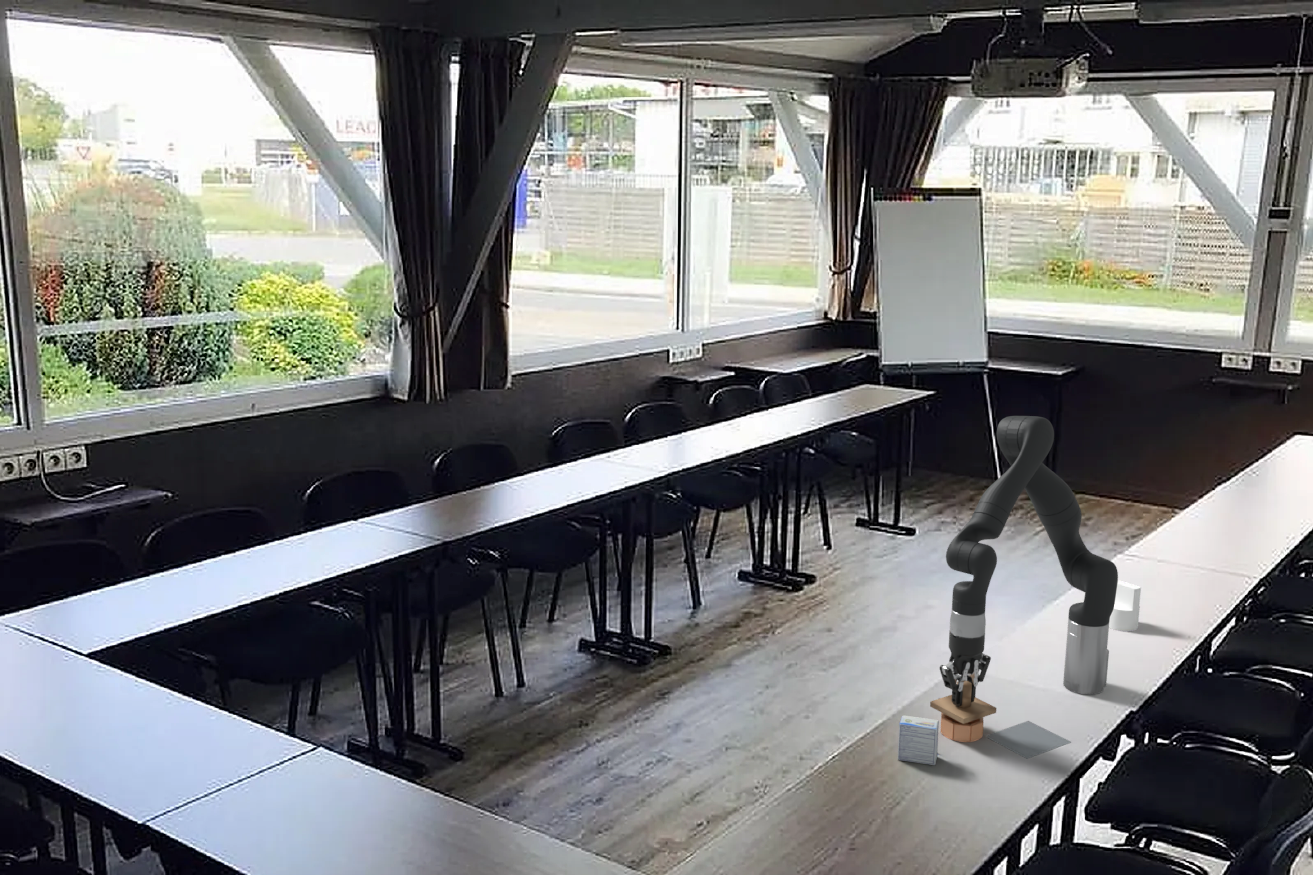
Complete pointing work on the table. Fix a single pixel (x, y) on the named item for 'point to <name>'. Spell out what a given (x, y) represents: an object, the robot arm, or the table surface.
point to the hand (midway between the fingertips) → (963, 702)
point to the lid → (964, 706)
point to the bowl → (961, 729)
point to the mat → (1028, 739)
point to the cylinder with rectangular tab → (1125, 607)
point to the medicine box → (918, 740)
